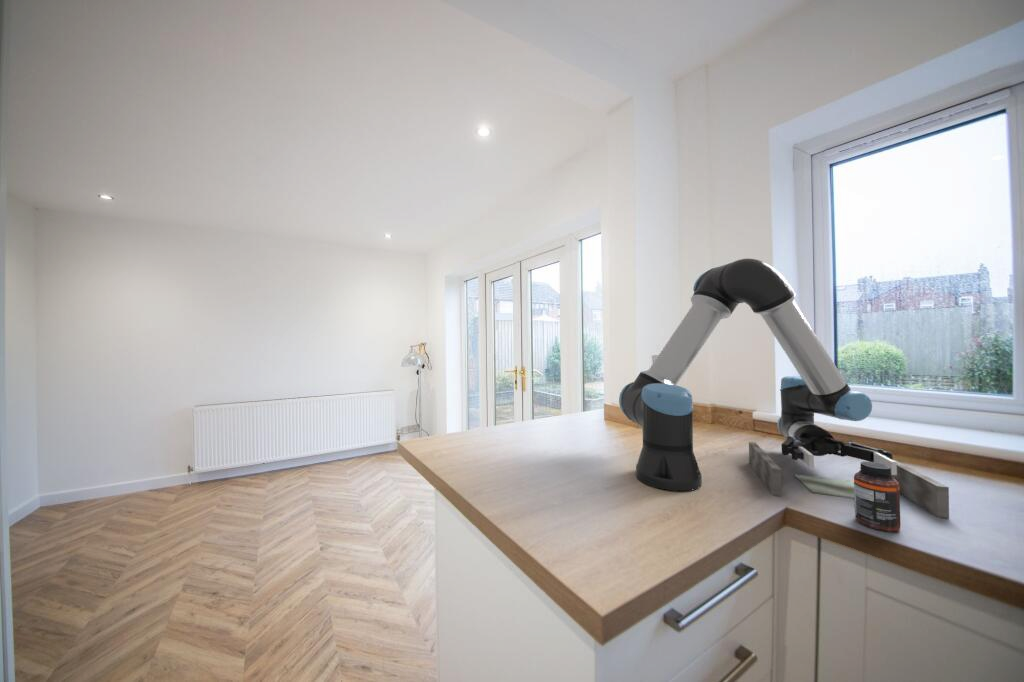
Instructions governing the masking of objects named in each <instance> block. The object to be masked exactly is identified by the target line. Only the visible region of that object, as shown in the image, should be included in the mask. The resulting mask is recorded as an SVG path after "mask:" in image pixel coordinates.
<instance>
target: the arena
mask: <svg viewBox="0 0 1024 682" xmlns="http://www.w3.org/2000/svg"><path fill="white" fill-rule="evenodd" d="M893 461H895V462H897V475H892V474H891V476H892V478H894V479H895V480H897V481H898V483H899V491H900V494H901V496H902V495H903V496H904V497H905V496H906V498H907V497H908V498H907V499H909V500H910V501H911V502H913V501H914V503H915V504H917V505H918V504H919V505H918V506H919V507H921V506H922V507H921V508H923V509H924V508H925V510H926V511H928V512H930V514H933V515H934V516H936V518H937V517H938V518H945V519H950V494H949V493H950V492H949V491H950V490H949V487H948V486H947V485H945V484H943V483H941V482H939V481H937V480H935V479H933V478H931V477H929V476H927V475H925V474H923V473H921V472H919V471H917V470H915V469H913V468H911V467H909V466H908V465H905V464H903V463H901V462H900V461H898V460H895V459H893ZM748 464H749V465H750V466H751V468H752V470H754V472H755V473H756V475H757V476H758V477H759V478H760V480H761V481H762V483H764V484H763V485H765V487H767V489H768V491H769V492H770V493H771V495H772V496H778V497H782V494H783V493H782V492H783V491H782V468H781V467H780V466H778V464H777V463H776V462H775V461H774V460H773V459H772V458H771V457H770V456H769V455H768V454H767V453H766V452H765V450H763V448H761V447H760V446H759V444H758V443H757V442H754V441H753V442H751V441H748ZM794 476H795V477H796V479H798V480H799V482H801V483H802V484H803V486H805V487H806V488H807V489H808V491H810V492H811V493H812V494H818V495H827V496H834V497H835V496H836V497H842V498H843V497H844V498H848V499H849V498H851V499H854V481H852V480H850V479H849V480H848V479H839V478H830V477H824V476H823V477H822V476H821V477H820V476H814V475H813V476H812V475H805V474H804V475H803V474H794Z"/></svg>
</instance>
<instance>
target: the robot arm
mask: <svg viewBox="0 0 1024 682" xmlns="http://www.w3.org/2000/svg"><path fill="white" fill-rule="evenodd" d="M692 290H693V294H692V296H691V297H690V302H691V304H692V305H691V307H690V308H689V310H688V311H687V313H686V314H685V315H684V318H683V319H682V320H681V322H680V323H679V324H678V326H677V328H676V329H675V330H674V332H673V333H672V335H671V336H670V338H669V340H668V341H667V342H666V344H665V346H664V347H663V348H662V350H661V351H660V353H659V354H658V356H657V357H656V358H655V360H654V361H653V363H652V364H651V366H650V368H649V369H648V370H644V371H643V370H642V371H640V372H639V374H638V375H637V377H636V378H635V380H634V381H632V382H629V383H628V384H626V385H625V386H624V387H623V388H622V389H621V392H620V393H619V396H618V397H619V398H618V402H619V408H620V410H621V412H622V414H624V415H625V416H626V417H627V419H628V420H630V421H631V422H633V423H635V424H637V425H639V426H641V427H642V447H641V451H640V454H639V455H638V456H639V457H638V459H637V463H636V466H635V477H636V479H638V481H640V482H641V481H642V483H643V482H644V483H643V484H645V483H646V484H645V485H647V484H648V485H647V486H650V485H651V486H650V487H652V486H654V487H653V488H656V487H657V488H656V489H660V488H661V489H660V490H664V489H667V490H666V491H671V490H677V491H676V492H682V491H681V490H690V491H693V490H692V489H695V490H697V489H696V488H698V487H699V488H701V487H702V485H701V484H702V472H701V470H700V468H699V464H698V461H697V459H696V455H695V453H694V415H693V414H694V411H693V410H694V402H693V395H692V393H691V391H690V390H688V389H687V388H686V387H684V386H681V385H680V386H679V385H678V383H679V382H680V380H681V379H682V377H683V376H684V375H685V373H686V372H687V370H688V369H689V367H690V365H691V364H692V363H693V361H694V360H695V358H696V357H697V356H698V354H699V352H700V351H701V349H703V346H704V345H705V343H706V342H707V340H708V339H709V338H710V336H711V335H712V334H713V331H714V330H715V329H716V327H717V326H718V324H719V323H720V321H721V320H723V319H728V318H730V316H731V315H732V314H733V312H734V311H735V310H736V308H737V307H738V305H739V304H744V303H745V304H747V305H748V306H749V307H750V309H751V310H752V312H753V313H754V314H756V315H760V316H761V317H762V319H763V321H764V322H765V324H766V325H767V326H768V328H769V330H770V331H771V333H772V335H773V336H774V337H775V339H776V340H777V342H778V343H779V345H780V346H781V348H782V350H783V352H784V353H785V354H786V356H787V358H788V359H789V361H790V363H792V366H793V367H794V368H795V370H796V372H797V373H798V375H799V376H794V375H793V376H791V375H790V376H788V375H787V376H784V377H782V378H781V379H780V389H779V391H780V406H781V412H780V417H779V418H778V420H777V428H778V431H779V432H780V433H781V435H782V436H783V437H784V438H785V439H786V440H784V441H783V442H782V443H781V455H783V456H788V455H791V460H795V461H797V460H799V459H800V460H801V461H802V462H803V463H805V465H806V466H808V467H809V468H814V467H815V458H814V457H823V456H826V455H835V456H839V457H844V458H845V457H851V458H854V459H858V460H862V461H869V462H876V463H881V464H885V465H887V466H890V467H891V474H892V475H897V462H898V461H897V462H895V461H896V460H895V461H893V460H894V458H893V452H891V451H888V450H884V449H883V448H876V447H872V446H870V445H869V446H868V445H865V444H862V443H858V442H856V441H854V440H847V442H846V441H842V440H837V439H835V437H834V436H833V435H832V434H831V432H829V431H828V430H826V429H824V428H822V427H821V426H819V425H817V424H815V414H819V415H822V416H827V417H831V418H836V419H839V420H844V421H851V422H852V421H853V422H861V421H863V420H864V421H865V419H867V418H868V417H869V416H870V415H871V413H872V410H873V402H872V400H871V399H870V397H869V396H868V395H867V394H865V393H864V392H862V391H858V390H853V389H851V388H850V386H849V385H848V383H847V381H846V380H845V377H844V376H843V375H842V373H841V372H840V370H839V369H838V368H837V366H836V364H835V362H834V361H833V359H832V358H831V356H830V354H829V353H828V352H827V350H826V349H825V347H824V346H823V343H822V342H821V340H820V339H819V336H817V334H816V333H815V330H813V328H812V326H811V325H810V323H809V322H808V320H807V319H806V317H805V316H804V314H803V313H802V311H801V309H800V308H799V306H798V305H797V303H796V301H795V297H796V292H795V290H794V289H793V288H792V286H791V285H790V283H788V281H787V280H786V278H785V277H784V276H783V275H782V274H781V273H780V272H779V271H778V270H777V269H776V268H775V267H773V266H771V265H770V264H768V263H766V262H764V261H762V260H759V259H757V258H756V259H755V258H742V259H737V260H735V261H731V262H730V263H726V264H723V265H720V266H717V267H713V268H710V269H708V270H707V271H705V272H703V273H701V274H700V276H698V278H697V279H696V280H695V283H694V284H693V289H692ZM699 488H698V489H699ZM678 490H680V491H678Z"/></svg>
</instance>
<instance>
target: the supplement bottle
mask: <svg viewBox="0 0 1024 682" xmlns="http://www.w3.org/2000/svg"><path fill="white" fill-rule="evenodd" d="M859 469H860V470H859V471H857V472H856V473H854V475H853V483H854V498H853V499H854V505H853V506H854V514H855V515H854V517H855V519H856V521H857V522H859V523H860V524H862V525H864V526H866V527H868V528H870V529H874V530H878V531H883V532H898V531H900V530H901V524H902V523H901V503H900V502H901V500H900V499H901V497H900V494H901V493H900V491H899V483H898V481H897V480H895V479H894V478H892V476H891V467H890V466H887V465H885V464H881V463H876V462H870V461H866V460H863V461H861V462H860V467H859Z"/></svg>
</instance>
